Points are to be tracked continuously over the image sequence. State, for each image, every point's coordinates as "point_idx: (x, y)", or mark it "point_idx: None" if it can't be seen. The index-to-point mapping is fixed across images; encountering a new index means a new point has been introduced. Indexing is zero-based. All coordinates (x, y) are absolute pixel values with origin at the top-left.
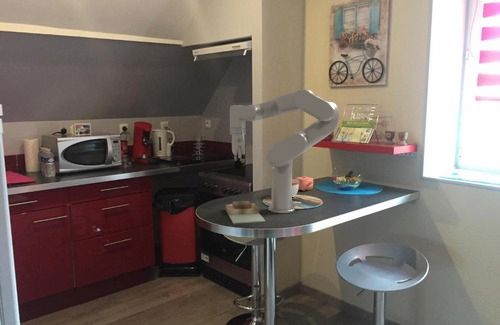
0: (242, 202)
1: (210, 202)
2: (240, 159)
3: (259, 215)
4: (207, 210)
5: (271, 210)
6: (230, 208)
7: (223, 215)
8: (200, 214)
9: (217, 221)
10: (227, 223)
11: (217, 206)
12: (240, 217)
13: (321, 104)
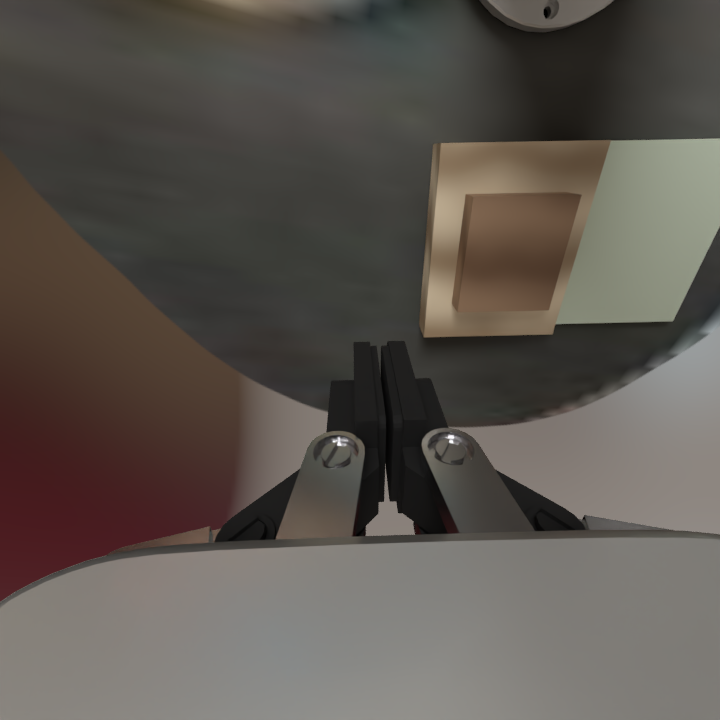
0: (500, 252)
1: (254, 379)
2: (481, 466)
3: (640, 151)
4: None
5: (594, 13)
6: (513, 322)
7: (516, 344)
8: (461, 426)
9: (595, 375)
10: (648, 341)
11: (341, 355)
12: (615, 275)
13: None
